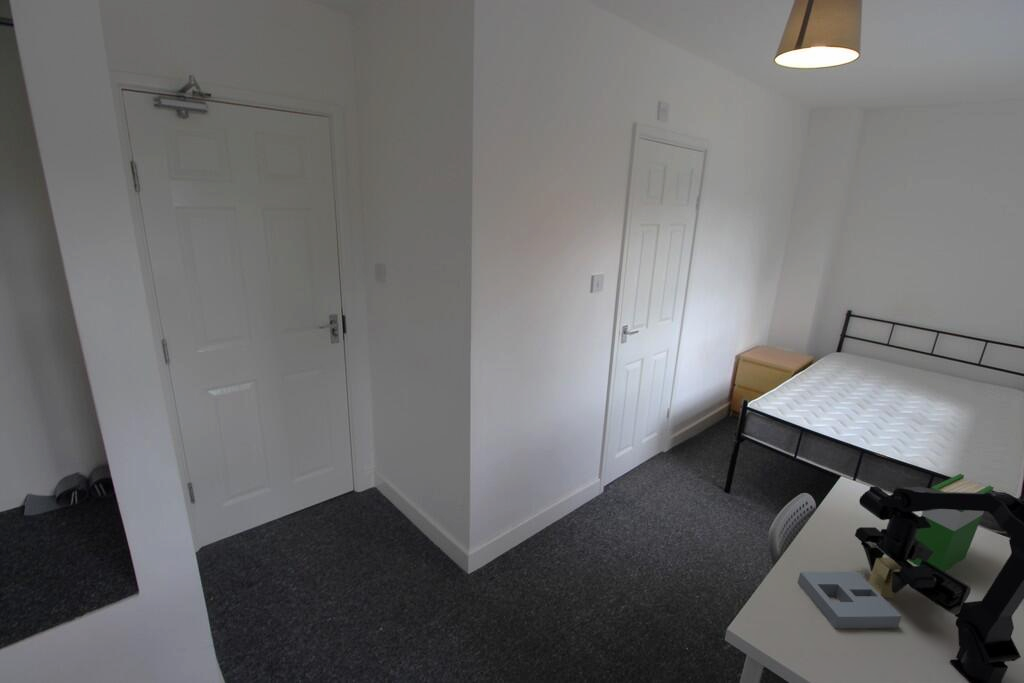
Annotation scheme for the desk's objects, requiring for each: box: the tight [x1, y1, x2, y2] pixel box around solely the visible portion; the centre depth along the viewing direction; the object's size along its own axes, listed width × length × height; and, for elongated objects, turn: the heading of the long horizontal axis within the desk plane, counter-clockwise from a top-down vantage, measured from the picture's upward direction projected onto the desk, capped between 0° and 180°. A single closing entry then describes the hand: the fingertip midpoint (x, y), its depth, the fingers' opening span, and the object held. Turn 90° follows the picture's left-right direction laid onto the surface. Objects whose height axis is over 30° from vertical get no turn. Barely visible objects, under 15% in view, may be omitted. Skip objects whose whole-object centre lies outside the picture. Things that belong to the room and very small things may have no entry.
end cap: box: [908, 560, 972, 612], centre depth 123 cm, size 10×7×7 cm
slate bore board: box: [797, 571, 902, 629], centre depth 119 cm, size 14×16×4 cm
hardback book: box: [907, 473, 994, 572], centre depth 134 cm, size 18×7×24 cm, turn 117°
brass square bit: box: [867, 557, 902, 598], centre depth 123 cm, size 4×4×9 cm
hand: (883, 582), depth 123 cm, fingers open, 6 cm apart
